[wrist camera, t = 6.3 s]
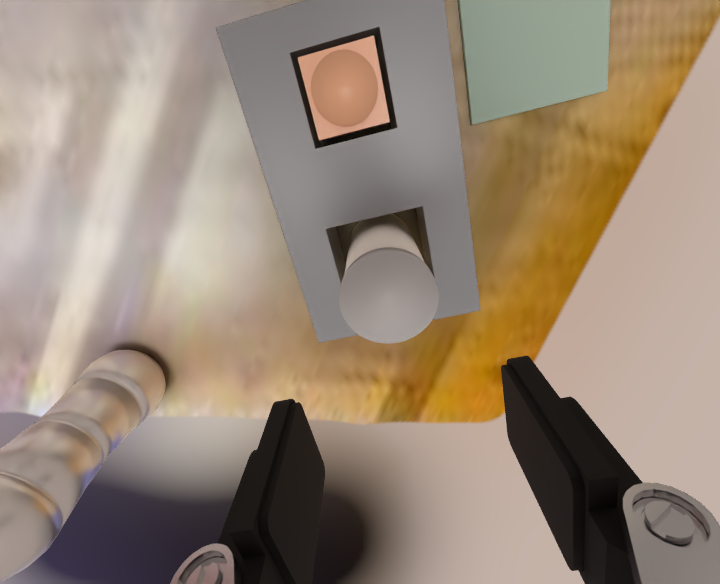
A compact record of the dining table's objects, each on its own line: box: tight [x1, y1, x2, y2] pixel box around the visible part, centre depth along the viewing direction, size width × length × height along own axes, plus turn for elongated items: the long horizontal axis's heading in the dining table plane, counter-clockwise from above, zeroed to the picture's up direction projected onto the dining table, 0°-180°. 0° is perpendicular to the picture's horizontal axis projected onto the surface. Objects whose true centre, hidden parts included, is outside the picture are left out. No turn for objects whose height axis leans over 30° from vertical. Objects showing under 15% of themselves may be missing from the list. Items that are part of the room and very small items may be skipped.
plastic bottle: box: [0, 350, 166, 582], centre depth 25 cm, size 6×7×20 cm
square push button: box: [298, 36, 390, 140], centre depth 22 cm, size 4×4×6 cm
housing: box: [216, 0, 480, 343], centre depth 24 cm, size 20×12×5 cm, turn 13°
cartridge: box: [339, 214, 439, 343], centre depth 24 cm, size 5×5×11 cm
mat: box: [458, 0, 610, 125], centre depth 22 cm, size 12×9×1 cm
